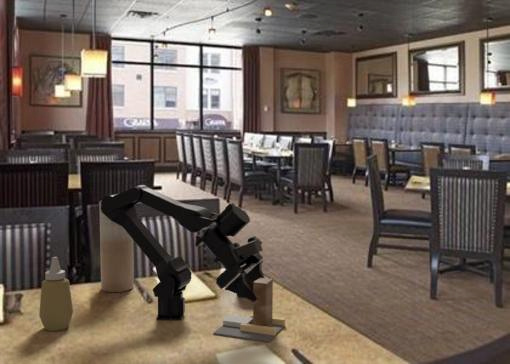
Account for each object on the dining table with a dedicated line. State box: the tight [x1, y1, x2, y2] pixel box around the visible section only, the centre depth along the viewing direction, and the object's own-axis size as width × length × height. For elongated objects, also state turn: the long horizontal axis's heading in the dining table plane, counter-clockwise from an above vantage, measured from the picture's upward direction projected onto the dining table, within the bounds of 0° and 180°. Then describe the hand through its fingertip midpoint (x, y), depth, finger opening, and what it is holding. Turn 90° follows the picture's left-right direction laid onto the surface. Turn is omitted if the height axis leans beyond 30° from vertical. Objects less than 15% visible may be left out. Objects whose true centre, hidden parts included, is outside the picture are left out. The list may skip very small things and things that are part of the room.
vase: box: [98, 199, 134, 293], centre depth 174 cm, size 10×10×28 cm
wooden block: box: [252, 277, 274, 327], centre depth 140 cm, size 4×4×12 cm
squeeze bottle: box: [38, 256, 74, 332], centre depth 139 cm, size 8×8×18 cm
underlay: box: [212, 313, 286, 343], centre depth 139 cm, size 14×12×2 cm
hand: (262, 295), depth 139 cm, fingers open, 9 cm apart
